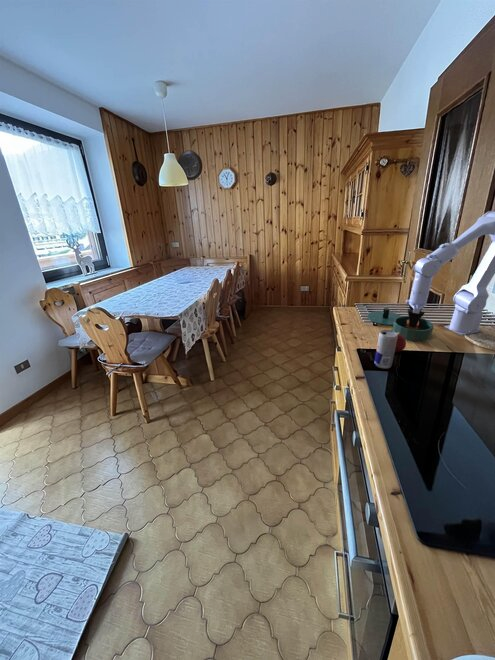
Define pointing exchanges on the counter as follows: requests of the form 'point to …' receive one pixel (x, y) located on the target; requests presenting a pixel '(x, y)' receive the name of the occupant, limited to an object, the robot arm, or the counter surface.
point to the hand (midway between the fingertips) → (412, 323)
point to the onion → (400, 343)
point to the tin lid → (383, 317)
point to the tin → (413, 334)
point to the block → (412, 327)
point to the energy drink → (385, 349)
